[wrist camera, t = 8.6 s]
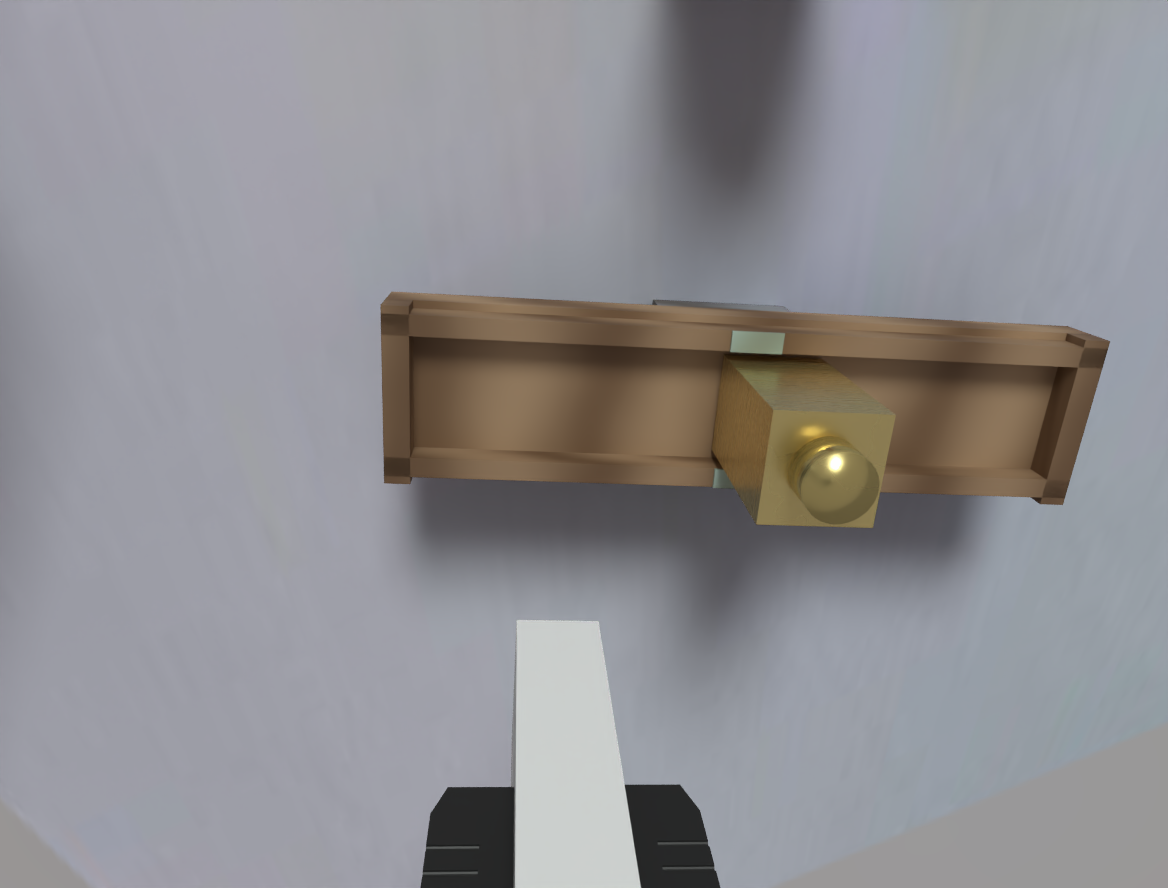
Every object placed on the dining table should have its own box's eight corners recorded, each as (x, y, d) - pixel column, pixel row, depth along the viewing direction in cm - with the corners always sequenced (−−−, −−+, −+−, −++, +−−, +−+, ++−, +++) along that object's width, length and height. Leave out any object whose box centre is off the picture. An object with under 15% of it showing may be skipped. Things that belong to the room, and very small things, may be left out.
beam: (407, 428, 39) (383, 487, 32) (405, 275, 36) (380, 305, 30) (980, 450, 41) (1063, 508, 35) (1015, 307, 39) (1112, 342, 32)
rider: (711, 449, 34) (768, 545, 26) (723, 354, 33) (787, 425, 25) (806, 452, 34) (891, 548, 26) (822, 358, 33) (916, 430, 25)
